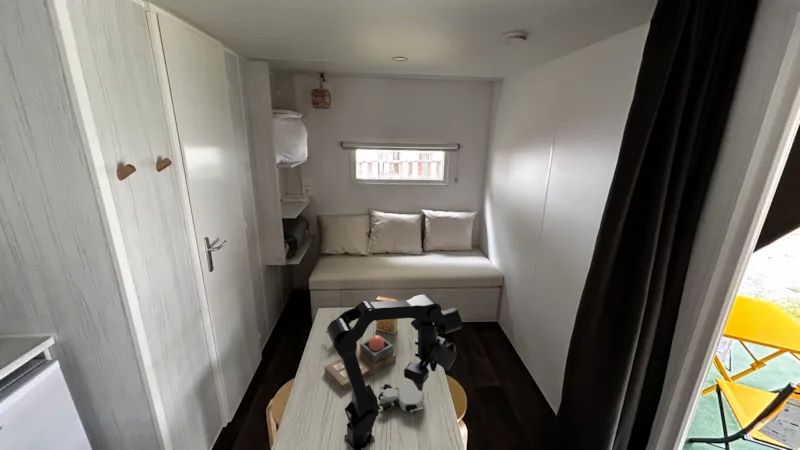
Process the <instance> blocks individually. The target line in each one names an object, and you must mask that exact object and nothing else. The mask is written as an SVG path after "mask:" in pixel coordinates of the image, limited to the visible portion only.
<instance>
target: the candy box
mask: <svg viewBox="0 0 800 450" xmlns="http://www.w3.org/2000/svg"><path fill="white" fill-rule="evenodd" d="M380 301H399V299H398V298H394V297H393V298H392V297H388V296H384V295H383V296H382V295H378V296H377V298H376V299H375V302H380ZM375 330H376V331H378V332H379V331H380V332H384V333H387V334H391V335H395V334H396V332H397V330H398V319H389V320H375Z"/></svg>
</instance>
